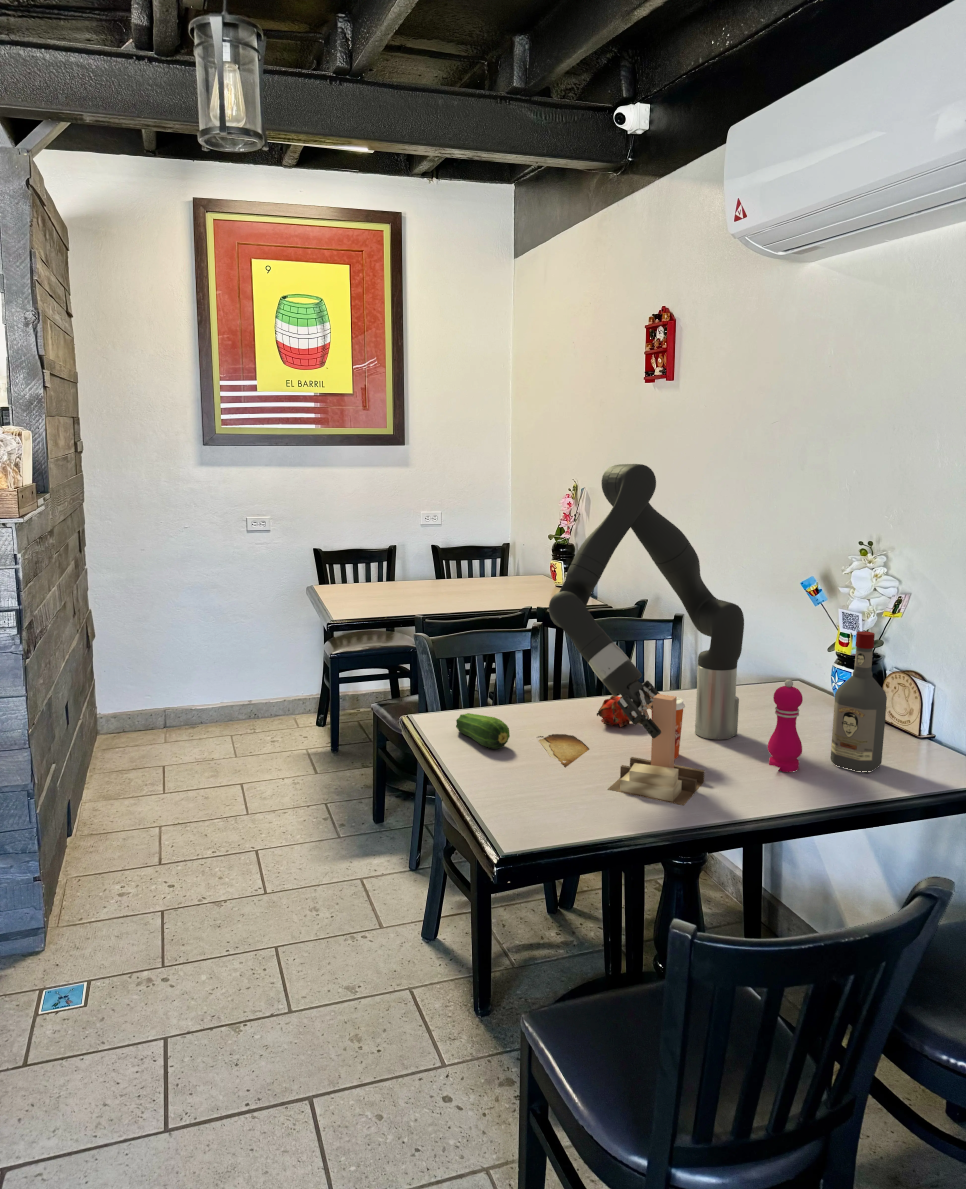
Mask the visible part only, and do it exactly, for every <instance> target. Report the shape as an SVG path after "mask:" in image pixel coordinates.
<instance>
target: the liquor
mask: <svg viewBox="0 0 966 1189" xmlns="http://www.w3.org/2000/svg"><path fill="white" fill-rule="evenodd" d="M875 634H876V633H874V632H872V631H864V630H862V631H857V632H856V635H855V654H854V655H855V658H854V667H853V668H854V669H853V671H852V675H851V676H850V677H849V678H847V680H845V682H843V683H842V684H841V685H840V686H839V687H837V689H836V691H835V694H834V704H833V719H832V730H831V731H832V734H831V748H830V760H831V762H833V763H834V764H835V765H837V766H840V767H844V768H848V769H852V770H855V771H861V772H862V771H867V772H868V771H872V770H873V771H874V769H875V768H876V769H878V768H879V767H880V766H881V765H882V761H883V760H882V759H883V750H884V736H885V726H886V725H885V724H886V716H887V715H886V714H887V713H886V712H887V700H888V697H887V694H886V692H885V690H884V689H883V688H882V687H881V685H880V684H879V683H878V681H877V680H876V679H875V678H874V676H873V671H872V666H873V665H872V664H873V650H874V648H875V636H876V635H875ZM833 763H832V764H833ZM834 764H833V765H834ZM835 765H834V766H835ZM878 766H879V767H878ZM877 767H878V768H877ZM876 769H875V770H876ZM873 771H872V772H873Z"/></svg>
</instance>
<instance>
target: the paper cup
mask: <svg viewBox="0 0 966 1189" xmlns="http://www.w3.org/2000/svg"><path fill="white" fill-rule="evenodd" d="M676 697H677V701H676V726H675V752H674V760H676V759H678V758H679V754H680V746H681V735H682V725H683V718H684V717H683V716H684V715H683V714H684V709H685V707H686V706H685V703H684V700H683V698H680V697H679V696H676ZM652 717H653V711H652V710H651V718H652Z"/></svg>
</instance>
